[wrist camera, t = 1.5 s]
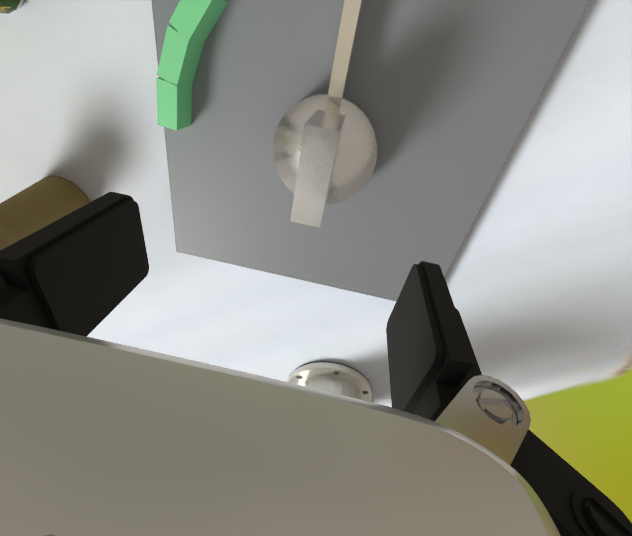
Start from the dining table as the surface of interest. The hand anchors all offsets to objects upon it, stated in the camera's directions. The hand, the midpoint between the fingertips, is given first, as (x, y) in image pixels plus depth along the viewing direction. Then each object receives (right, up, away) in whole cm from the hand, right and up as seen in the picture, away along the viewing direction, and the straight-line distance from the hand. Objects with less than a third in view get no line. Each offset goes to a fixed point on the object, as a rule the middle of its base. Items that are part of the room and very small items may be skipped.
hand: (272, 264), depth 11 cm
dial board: (+3, +11, +16) cm, 20 cm away
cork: (-26, +7, +23) cm, 36 cm away
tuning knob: (+3, +12, +13) cm, 18 cm away
